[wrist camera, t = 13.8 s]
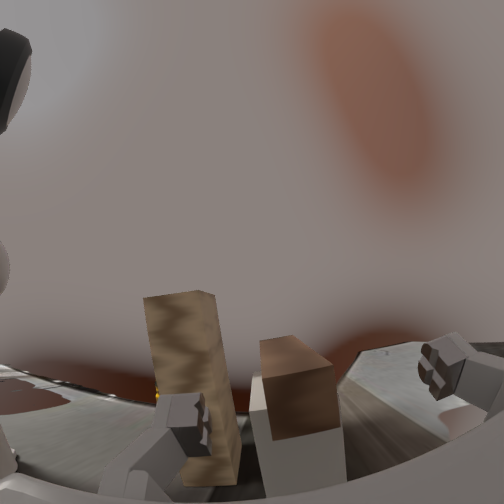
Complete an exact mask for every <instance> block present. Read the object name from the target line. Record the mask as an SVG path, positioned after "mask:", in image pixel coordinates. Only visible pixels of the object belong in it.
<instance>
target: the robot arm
mask: <svg viewBox="0 0 504 504" xmlns="http://www.w3.org/2000/svg"><path fill="white" fill-rule="evenodd" d="M31 54H32V49H31V46H30V43H29V40H28V39H27V38H26V37H24V36H22V35H20V34H18V33H16V32H14V31H11V30H8V29H5V28H4V29H3V30H2V31H0V135H1V134H2V133H3V132H4V131H6V129H7V127H8V124H9V123H10V121H11V120H12V119H13V117H14V116H15V114H16V113H17V111H18V110H19V108H20V106H21V104H22V102H23V100H24V97H25V95H26V92H27V89H28V85H29V81H30V75H31ZM9 273H10V264H9V258H8V254H7V252H6V250H5V247H4V245H3V244H2V243H1V241H0V295H1V294H2V293H3V291H4V290H5V288H6V285H7V283H8V279H9ZM421 353H422V354H423V356H422V357H421V359H420V360H419V363H418V373H419V376H420V379H421V380H422V381H423V383H425V384H427V385H429V391H430V393H431V394H432V395H433V397H434V398H435V399H436V401H438V400H441V399H443V398H445V397H448V396H450V395H452V394H454V395H455V396H457V397H459V398H461V399H463V400H465V401H467V402H469V403H471V404H473V405H475V406H477V407H479V408H481V409H483V410H485V411H487V412H488V414H487V416H486V418H485V419H484V422H483V423H482V424H480V425H479V426H477V427H475V428H474V429H472V430H470V431H469V432H467V433H465V434H463V435H461V436H460V437H458V438H456V439H454V440H452V441H450V442H448V443H446V444H444V445H442V446H440V447H438V448H436V449H434V450H432V451H429V452H427V453H425V454H423V455H421V456H418V457H416V458H414V459H411V460H409V461H406V462H404V463H401V464H399V465H396V466H394V467H391V468H388V469H385V470H383V471H380V472H377V473H374V474H371V475H368V476H365V477H362V478H358V479H355V480H352V481H348V482H345V483H341V484H337V485H333V486H329V487H325V488H321V489H317V490H312V491H307V492H302V493H297V494H291V495H285V496H279V497H272V498H265V499H256V500H247V501H234V502H216V503H174V502H173V501H172V500H171V499H170V498H169V497H168V496H167V494H166V493H165V492H164V490H165V489H166V488H167V486H168V485H169V484H170V483H171V481H172V480H173V479H174V477H175V476H176V475H177V473H178V472H179V471H180V469H181V468H182V467H183V465H184V464H185V463H186V461H187V460H188V457H204V456H212V440H211V438H210V436H209V435H210V434H211V433H212V418H211V414H210V410H209V408H208V407H206V406H205V398H204V395H203V393H201V392H199V393H183V394H166V395H160V396H159V398H158V401H157V405H156V409H155V414H154V418H153V422H152V427H151V428H147V429H146V430H145V431H144V432H143V433H142V434H141V435H140V436H138V437H137V438H136V439H135V440H134V441H133V442H132V443H131V444H130V445H129V446H127V447H126V448H125V449H124V450H123V451H122V452H121V453H120V454H118V455H117V456H116V457H115V458H114V459H113V460H112V461H111V462H109V463H108V464H107V465H106V466H105V469H104V472H103V476H102V479H101V483H100V486H99V490H98V494H95V493H90V492H85V491H80V490H76V489H72V488H68V487H64V486H60V485H56V484H53V483H49V482H46V481H43V480H39V479H36V478H33V477H30V476H28V475H25V474H22V473H15V472H16V470H17V467H18V465H17V462H16V460H15V458H16V456H17V454H16V452H15V450H14V449H11V448H10V446H9V444H8V441H7V439H6V437H5V434H4V432H3V429H2V427H1V424H0V504H504V358H501V357H498V356H494V355H491V354H487V353H484V352H479V353H478V352H477V351H476V350H475V349H474V348H473V347H472V346H471V345H470V344H469V343H468V342H467V341H465V340H464V339H463V338H462V337H461V336H460V335H459V334H458V333H457V332H452V333H450V334H447V335H445V336H443V337H440V338H437V339H435V340H432V341H429V342H427V343H424V344H423V346H422V349H421Z"/></svg>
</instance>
